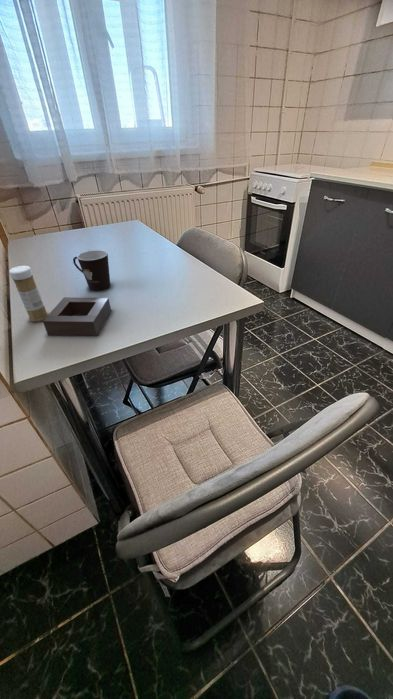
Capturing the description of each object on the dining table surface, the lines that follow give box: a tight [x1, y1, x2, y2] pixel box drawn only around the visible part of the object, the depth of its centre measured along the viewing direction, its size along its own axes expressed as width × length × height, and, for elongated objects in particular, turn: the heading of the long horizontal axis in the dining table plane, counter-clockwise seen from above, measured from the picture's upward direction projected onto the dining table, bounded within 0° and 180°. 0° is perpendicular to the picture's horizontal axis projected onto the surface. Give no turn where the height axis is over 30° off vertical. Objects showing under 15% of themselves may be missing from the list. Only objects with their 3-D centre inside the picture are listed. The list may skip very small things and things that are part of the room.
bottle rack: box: [42, 296, 112, 337], centre depth 73 cm, size 12×12×4 cm
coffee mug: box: [72, 249, 111, 292], centre depth 89 cm, size 12×9×10 cm
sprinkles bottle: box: [8, 265, 49, 323], centre depth 73 cm, size 5×5×14 cm
